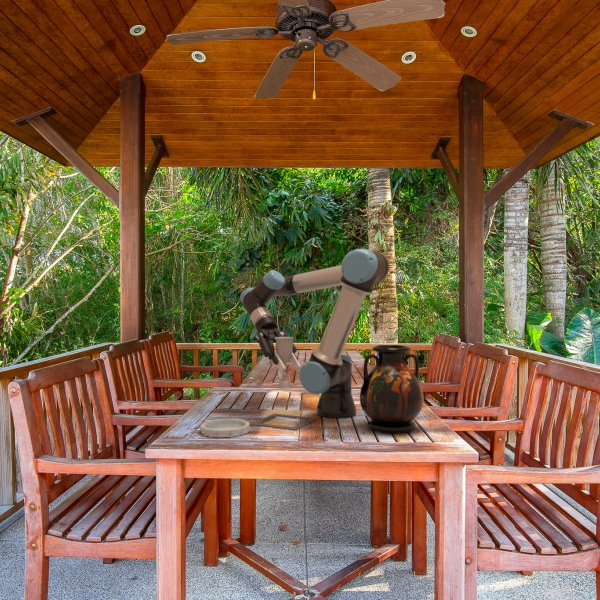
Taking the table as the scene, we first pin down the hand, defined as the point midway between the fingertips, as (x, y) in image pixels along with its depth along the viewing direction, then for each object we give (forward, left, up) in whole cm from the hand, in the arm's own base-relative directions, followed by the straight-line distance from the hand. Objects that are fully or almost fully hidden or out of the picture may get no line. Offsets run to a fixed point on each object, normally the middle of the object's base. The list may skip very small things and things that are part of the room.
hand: (290, 369), depth 182 cm
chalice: (+3, -2, -7) cm, 8 cm away
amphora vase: (-34, -10, -20) cm, 40 cm away
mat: (+3, -2, -19) cm, 20 cm away
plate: (+15, +18, -19) cm, 31 cm away
